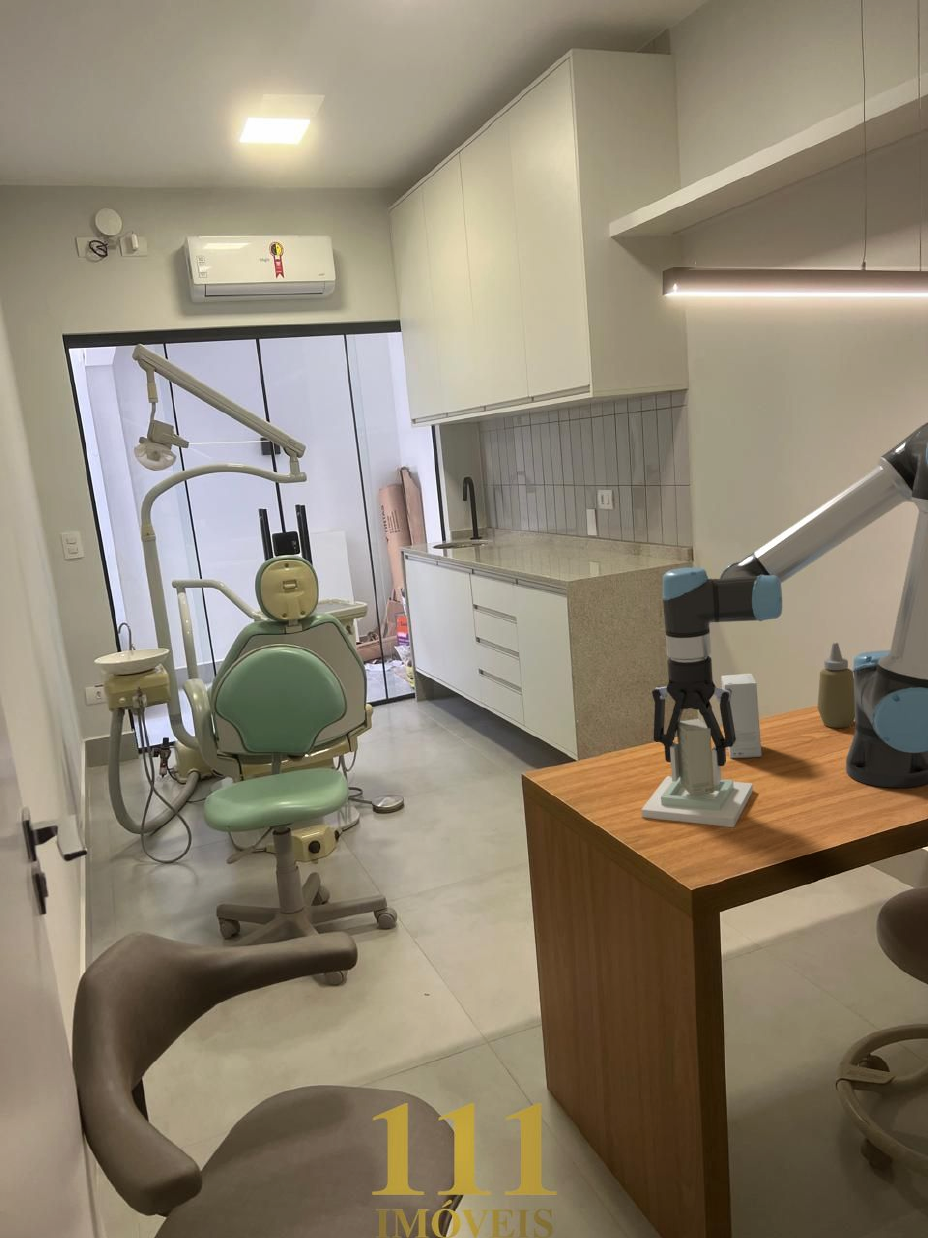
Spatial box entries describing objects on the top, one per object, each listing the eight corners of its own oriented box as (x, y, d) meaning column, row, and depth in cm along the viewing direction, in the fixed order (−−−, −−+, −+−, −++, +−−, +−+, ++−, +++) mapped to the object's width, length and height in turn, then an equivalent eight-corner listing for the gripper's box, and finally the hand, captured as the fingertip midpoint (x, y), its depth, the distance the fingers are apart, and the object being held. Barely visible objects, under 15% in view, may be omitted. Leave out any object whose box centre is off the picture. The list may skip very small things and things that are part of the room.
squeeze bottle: (826, 732, 190) (823, 650, 187) (812, 720, 198) (809, 641, 195) (865, 728, 190) (862, 645, 187) (848, 716, 198) (846, 637, 195)
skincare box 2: (761, 758, 180) (758, 683, 177) (727, 759, 182) (723, 685, 179) (757, 743, 188) (753, 672, 185) (724, 745, 190) (720, 674, 187)
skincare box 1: (714, 793, 159) (712, 728, 156) (690, 797, 158) (687, 731, 156) (701, 780, 165) (699, 717, 162) (678, 783, 164) (675, 720, 162)
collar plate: (753, 791, 165) (752, 775, 164) (733, 827, 151) (732, 810, 151) (667, 783, 173) (666, 768, 172) (641, 817, 159) (640, 801, 159)
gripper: (751, 652, 155) (757, 777, 160) (641, 650, 165) (649, 768, 169) (742, 663, 149) (748, 793, 153) (628, 661, 158) (637, 783, 163)
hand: (696, 780), depth 161 cm, fingers closed on skincare box 1, 7 cm apart
